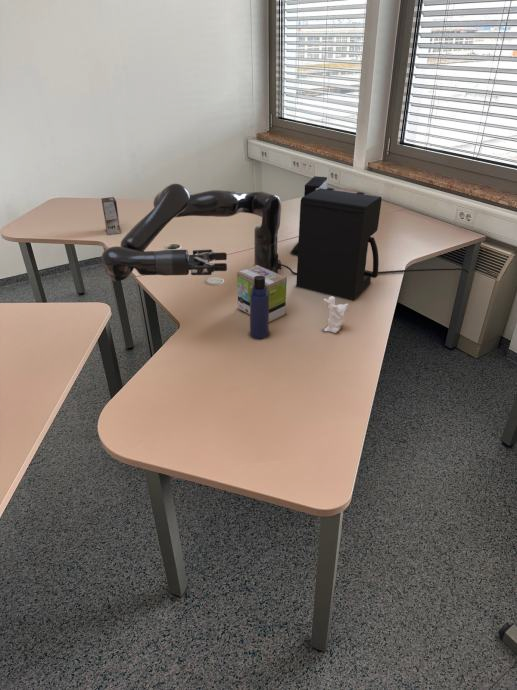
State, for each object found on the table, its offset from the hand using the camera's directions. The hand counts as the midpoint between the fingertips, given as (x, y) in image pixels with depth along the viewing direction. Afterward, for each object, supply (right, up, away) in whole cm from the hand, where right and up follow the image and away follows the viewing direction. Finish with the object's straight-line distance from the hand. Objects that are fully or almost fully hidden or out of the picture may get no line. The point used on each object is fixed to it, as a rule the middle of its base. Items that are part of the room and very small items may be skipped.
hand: (226, 261), depth 145 cm
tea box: (+11, -14, +28) cm, 33 cm away
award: (+38, +22, +86) cm, 96 cm away
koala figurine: (+35, -20, +17) cm, 44 cm away
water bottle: (+10, -22, +14) cm, 28 cm away
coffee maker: (+41, -2, +47) cm, 63 cm away
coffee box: (-65, +33, +103) cm, 126 cm away
